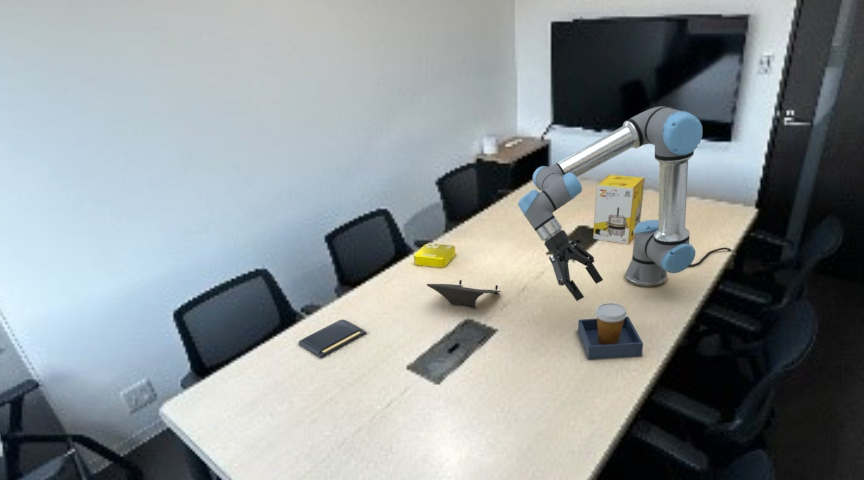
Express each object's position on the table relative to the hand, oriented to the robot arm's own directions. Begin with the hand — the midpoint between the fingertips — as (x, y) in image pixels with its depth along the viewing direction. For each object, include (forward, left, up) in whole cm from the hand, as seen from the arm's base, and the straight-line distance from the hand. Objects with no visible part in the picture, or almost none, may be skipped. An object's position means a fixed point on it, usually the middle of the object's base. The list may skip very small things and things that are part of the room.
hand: (590, 290), depth 172 cm
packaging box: (-30, -82, -17) cm, 89 cm away
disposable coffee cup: (-5, +7, -16) cm, 18 cm away
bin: (-5, +7, -17) cm, 19 cm away
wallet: (+89, -8, -17) cm, 90 cm away
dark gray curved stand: (+40, -29, -17) cm, 52 cm away
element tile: (+53, -69, -17) cm, 89 cm away
